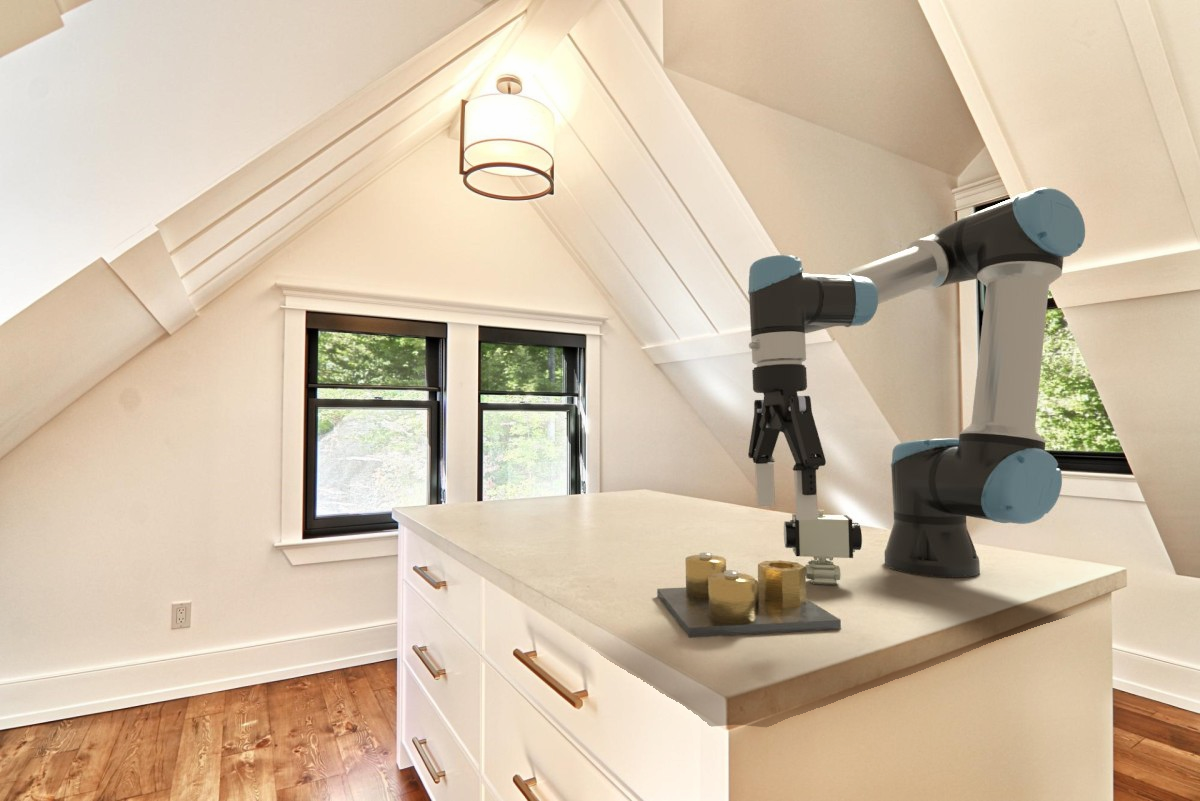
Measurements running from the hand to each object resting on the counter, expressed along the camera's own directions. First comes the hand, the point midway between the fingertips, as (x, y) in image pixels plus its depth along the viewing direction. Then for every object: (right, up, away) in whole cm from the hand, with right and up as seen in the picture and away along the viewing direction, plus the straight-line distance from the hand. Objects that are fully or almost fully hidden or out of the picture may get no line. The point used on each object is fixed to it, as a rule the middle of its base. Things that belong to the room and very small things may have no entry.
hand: (784, 512), depth 86 cm
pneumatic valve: (+11, -14, +14) cm, 23 cm away
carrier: (-7, -14, -1) cm, 15 cm away
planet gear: (-1, -13, -1) cm, 13 cm away
